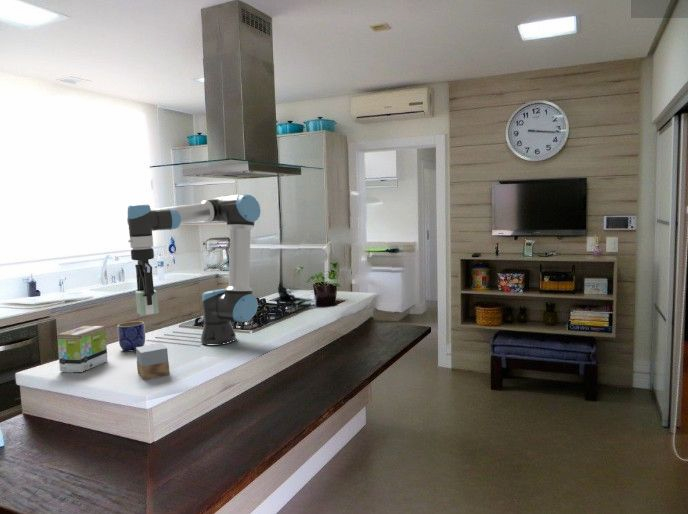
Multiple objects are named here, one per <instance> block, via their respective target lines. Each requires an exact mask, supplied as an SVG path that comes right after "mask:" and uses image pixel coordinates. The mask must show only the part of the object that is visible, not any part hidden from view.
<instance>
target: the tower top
mask: <svg viewBox="0 0 688 514" xmlns="http://www.w3.org/2000/svg"><path fill="white" fill-rule="evenodd" d="M135 353H136V363H137V362H138V363H139V364H140V365H141V366H142V367H143V366H149V365H154V364H159V363H164V362H169V353H168V348H167V347H166V346H165V345H164V343H162V342H160V343H154V344H149V345H144V346H142V347H136V350H135Z"/></svg>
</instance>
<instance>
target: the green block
mask: <svg viewBox="0 0 688 514" xmlns="http://www.w3.org/2000/svg"><path fill="white" fill-rule="evenodd" d="M134 294H135V295H134V296H135V304H136V314H138V315H139V316H141V317H144V316H149V315H151V314H148V315H146V313H145V301H144V297H143V295H145V292H144V290H143V291H137V290H136V291H135V292H134ZM153 307H154V314H153V315H155V314H159V313H160V310H159V299H158V291H157V290H155V289H154V294H153Z"/></svg>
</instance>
